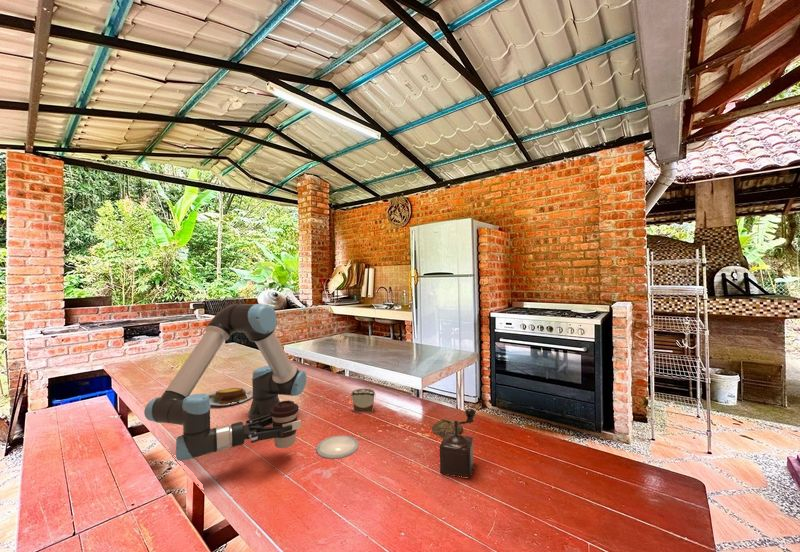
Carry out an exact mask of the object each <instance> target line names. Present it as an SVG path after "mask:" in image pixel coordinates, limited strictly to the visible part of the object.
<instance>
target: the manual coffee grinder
mask: <svg viewBox="0 0 800 552" xmlns="http://www.w3.org/2000/svg"><path fill="white" fill-rule="evenodd" d="M464 414H465V416H466V419H465V421H458V420H453V421H454V423H455V424H454V427H455V434H446V433H445V436H444V438H442V440H441V443H440V445H439V473H444V474H449V475H455V476H460V477H461V476H462V477H468V478H470V477H471V478H472V476H471V474H472V475H473V473H472V471H473V472H474V471H475V466H473V465H475V463H474V437H473V436H471V435H470V436H468V435H462V434H458V426H459V425H465V424H472V423H474V422H475V421H474V418H475V416H476V414H477V412H476V411H475V410H474V408H466V409H465V411H464ZM444 474H443V475H444ZM449 475H448V476H449Z"/></svg>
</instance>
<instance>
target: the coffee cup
mask: <svg viewBox="0 0 800 552" xmlns="http://www.w3.org/2000/svg"><path fill="white" fill-rule="evenodd" d="M299 408H300V407H299V404H297V403H295V402H294V401H293V400H282V401H280V402H278V403H276V404H275V406H274V407H273V408H271V410H270V415H271V416H272V424H271V427H276V426H282V425H283V424H287V423H291V422H295V421H298V412H299V410H300V409H299ZM297 430H298V429H296V430H292V431H288V432H285V433H283V436H282V437H278V438H273V439H274V446H275V448H277V449H287V448H290V447H292V446H293V445H295V443H296V439H297V438H296V435H297Z"/></svg>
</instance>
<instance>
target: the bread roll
mask: <svg viewBox="0 0 800 552" xmlns="http://www.w3.org/2000/svg"><path fill="white" fill-rule="evenodd" d="M454 421H455V420H453V419H447V418H442V419H440V420H438V421H437V422H436V423H435V424H433V426H431V430H432V433H433V434H434V433H435V434H434V435H436V436H438V435H439V437H441V438H442V437H443V438H444V436H445V433H446V434H455V427H454V424H455V423H454ZM463 430H464V428H463V426H462V424H460V425H459V426H458V434H459V435H461V433H462V432H463ZM443 438H442V439H443Z"/></svg>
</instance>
